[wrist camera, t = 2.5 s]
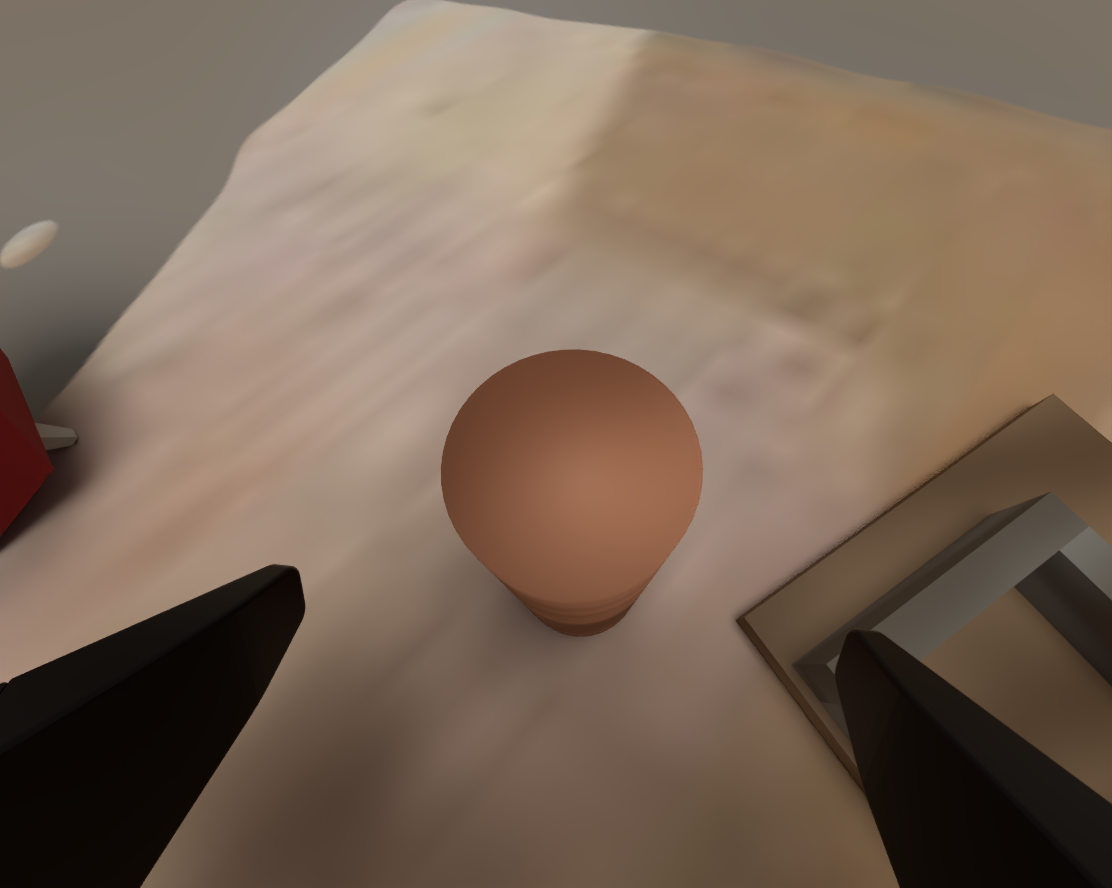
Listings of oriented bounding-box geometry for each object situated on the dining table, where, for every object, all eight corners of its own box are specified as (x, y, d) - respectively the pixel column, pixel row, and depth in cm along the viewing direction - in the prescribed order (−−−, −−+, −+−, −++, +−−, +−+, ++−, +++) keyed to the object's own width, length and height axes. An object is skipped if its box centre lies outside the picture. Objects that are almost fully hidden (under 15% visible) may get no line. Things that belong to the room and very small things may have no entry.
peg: (661, 592, 18) (759, 495, 8) (562, 661, 17) (526, 655, 7) (595, 497, 19) (603, 310, 9) (501, 557, 19) (397, 427, 8)
